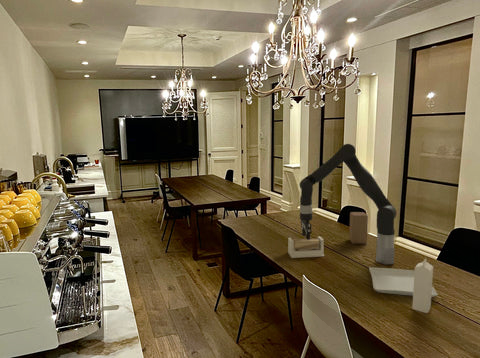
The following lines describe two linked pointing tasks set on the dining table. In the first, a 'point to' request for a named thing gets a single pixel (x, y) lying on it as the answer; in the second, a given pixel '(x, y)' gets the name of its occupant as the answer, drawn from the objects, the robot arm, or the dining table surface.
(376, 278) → the square plate
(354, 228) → the wooden block
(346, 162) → the robot arm
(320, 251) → the peg cradle
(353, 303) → the dining table surface
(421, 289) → the milk
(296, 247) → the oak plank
